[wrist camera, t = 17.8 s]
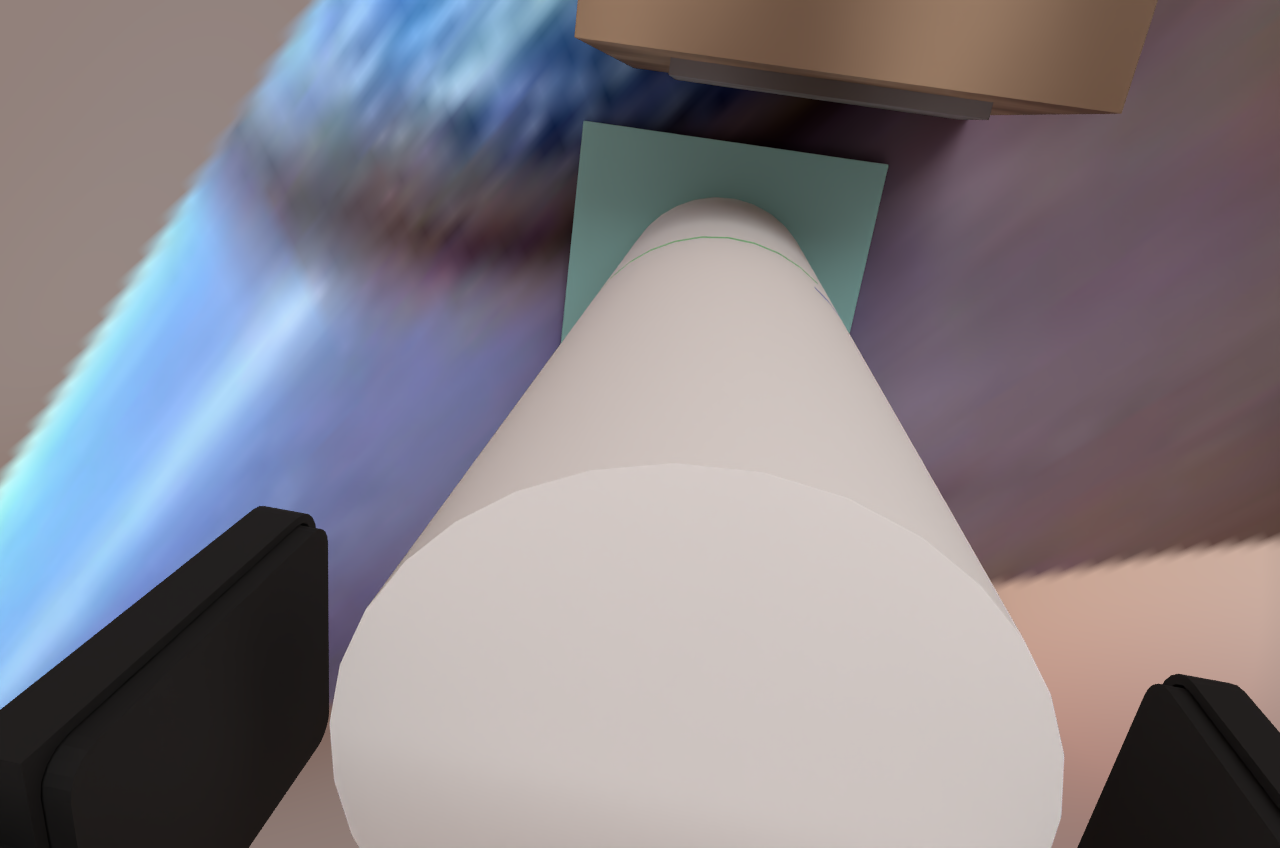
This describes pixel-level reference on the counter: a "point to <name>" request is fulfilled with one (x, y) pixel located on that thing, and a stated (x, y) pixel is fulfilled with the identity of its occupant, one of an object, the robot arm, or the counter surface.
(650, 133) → the teal pad
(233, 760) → the robot arm
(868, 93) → the walnut housing
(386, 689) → the cylindrical container
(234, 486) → the counter surface
